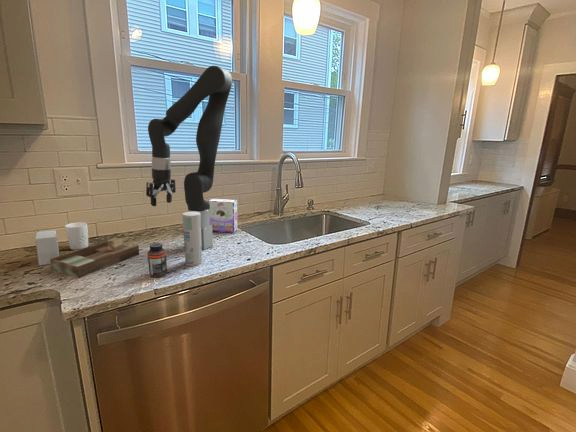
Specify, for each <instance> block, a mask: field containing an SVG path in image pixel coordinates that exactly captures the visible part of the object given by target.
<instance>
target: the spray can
mask: <svg viewBox="0 0 576 432" xmlns="http://www.w3.org/2000/svg"><path fill="white" fill-rule="evenodd" d="M182 229H183V230H182V231H183V245H184V259H185V260H184V261H185V265H186V266H187V267H188V266H189V267H196V266H199V265H201V264H202V262H203V254H202V253H203V249H202V246H201V214H200V212H194V211H193V212H188V211H185V212H183V213H182Z"/></svg>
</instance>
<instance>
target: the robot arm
mask: <svg viewBox="0 0 576 432" xmlns="http://www.w3.org/2000/svg"><path fill="white" fill-rule="evenodd" d="M232 86H233V77H232V74H231V73H230V71H228V69H226V68H224V67H222V66H219V65H209V66H208V67H207V68H206V69H205V70H204V71H203V73H202V74H201V75H200V76H199V78H198V79H197V80H196V81H195V83H193V85H192V86H191V87H190V88H189V90H188V91H186V92H185V93H184V94H183V96H181V97H180V98H179V99H178V100H177V101H175V102H174V103H173V104H172V105H171V106H170V107H169V108H168V109H167V110H166V111H165V117H163V118H154V119H151V120H149V122H148V126H147V132H148V136H149V137H148V138H149V140H150V144H151V147H152V148H151V157H152V158H151V178H152V182H148V181H147V182H146V187H145V189H146V190H145V191H146V193H145V195H146V197H149V198H150V205H151V206H152V207H157V196H158V194H160V193H161V192H166V201H165V202H166V203H167V204H168V203H169V204H171V203H172V200H173V198H172V197H173V194H174V193H176V189H177V188H176V180H175V179H173V178H171V177H172V175H171V174H172V173H171V172H172V171H171V164H172V163H171V162H172V161H171V145H170V144H169V143H167V142H166V138H165V137H169V136H171V135H172V134H174V133H175V132H176V130H177V129H178V127H179V126H180V124H181V123H183V122H185V120H187V119H188V118H190V116H191V115H192V114H193V113H194V112H195V111H196V109H197V107H198V106H199V105H200V104H201V102H202V101H203V100H205V99H206V98H208V102H207V105H206V107H205V109H204V111H203V112H202V115H201V117H200V119H199V122H198V124H197V130H196V135H195V142H196V147H197V151H198V155H199V165H198V170H197V171H196V172H188V173H187V174H186V175H185V176H184V180H183V189H184V199H185V203H186V206H187V212H193V211H194V212H200V214H201V246H202V251H203V250H204V251H205V250H207V249H209V248H211V247H213V246H214V241H213V239H214V238H213V237H214V236H213V231H212V226H211V225H210V204H209V202H208V201H209V200H205V199H204V193H207V192H209V191H210V190H211V189H212V187H213V184H214V175H215V164H216V158H217V155H218V154H217V153H218V149H219V143H220V139H221V134H222V128H223V121H224V117H225V110H226V107H227V103H228V99H229V95H230V92H231V90H232Z"/></svg>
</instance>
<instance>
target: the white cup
mask: <svg viewBox="0 0 576 432" xmlns="http://www.w3.org/2000/svg"><path fill="white" fill-rule="evenodd" d="M88 228H89V227H88V223H87V222H85V221H84V222H83V221H81V222H80V221H78V222H71V223H67V224H65V225H64V229H65V233H66V237H67V242H68V245H69V248H70V250H75V251H77V250H81V249H84V248H87V247H90V246H89V244H90V243H89V231H88Z"/></svg>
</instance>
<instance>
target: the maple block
mask: <svg viewBox="0 0 576 432" xmlns="http://www.w3.org/2000/svg"><path fill="white" fill-rule="evenodd" d="M107 241H108V250H111V251H118V250H121V249H124V245H125V244H124V238H119V237H114V238H111V239H107ZM107 241H106V242H107Z"/></svg>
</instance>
